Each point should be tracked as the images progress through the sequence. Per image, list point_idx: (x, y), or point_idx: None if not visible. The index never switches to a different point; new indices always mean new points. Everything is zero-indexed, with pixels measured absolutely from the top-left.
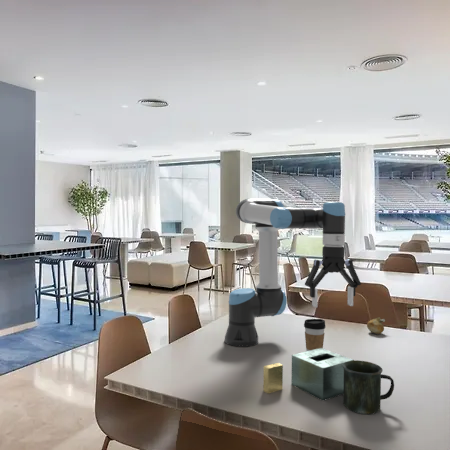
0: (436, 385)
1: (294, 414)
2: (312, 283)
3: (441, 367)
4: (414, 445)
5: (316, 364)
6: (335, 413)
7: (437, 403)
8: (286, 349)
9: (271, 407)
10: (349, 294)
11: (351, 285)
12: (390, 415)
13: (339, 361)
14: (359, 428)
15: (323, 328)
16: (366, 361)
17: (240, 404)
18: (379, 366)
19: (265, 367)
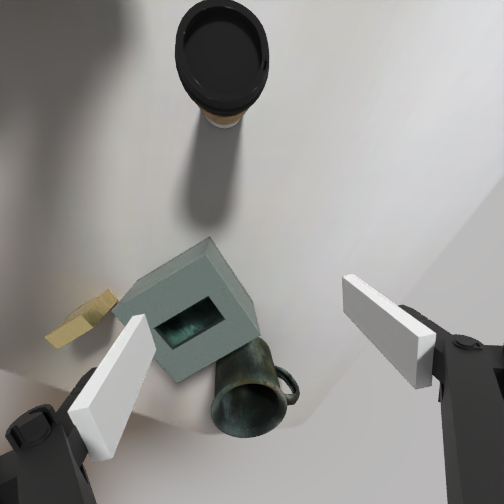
0: (407, 277)
1: None
2: (36, 471)
3: (483, 190)
4: None
5: (165, 365)
6: (197, 373)
7: (361, 338)
8: (147, 12)
9: (95, 363)
10: (378, 327)
11: (444, 372)
12: None
13: (224, 346)
14: None
15: (251, 104)
16: (271, 385)
17: (38, 357)
18: (285, 407)
19: (50, 341)
